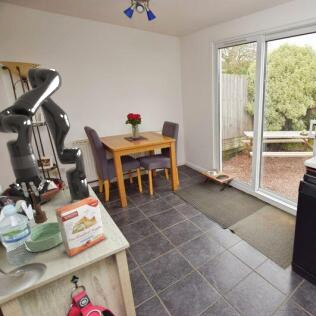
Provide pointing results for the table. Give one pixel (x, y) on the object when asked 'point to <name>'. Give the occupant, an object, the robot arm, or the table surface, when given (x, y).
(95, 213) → the cracker box
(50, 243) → the bowl
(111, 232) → the table surface
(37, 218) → the pestle
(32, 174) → the robot arm
